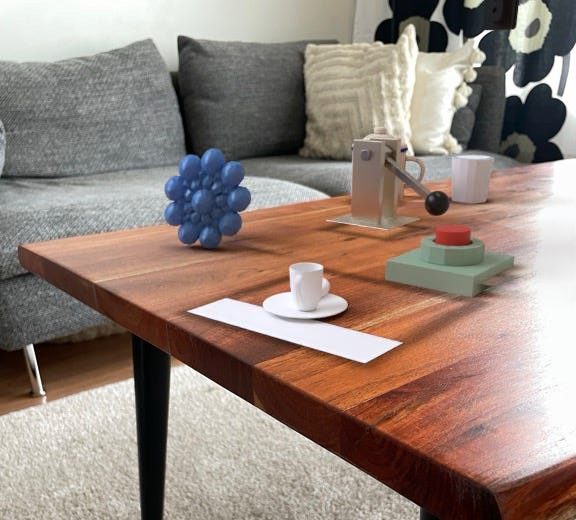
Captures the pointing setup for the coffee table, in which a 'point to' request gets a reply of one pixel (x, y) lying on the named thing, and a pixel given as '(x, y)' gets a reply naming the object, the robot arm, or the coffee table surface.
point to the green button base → (448, 267)
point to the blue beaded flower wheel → (206, 199)
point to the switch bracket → (374, 186)
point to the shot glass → (471, 177)
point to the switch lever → (418, 187)
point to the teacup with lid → (403, 158)
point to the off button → (453, 235)
